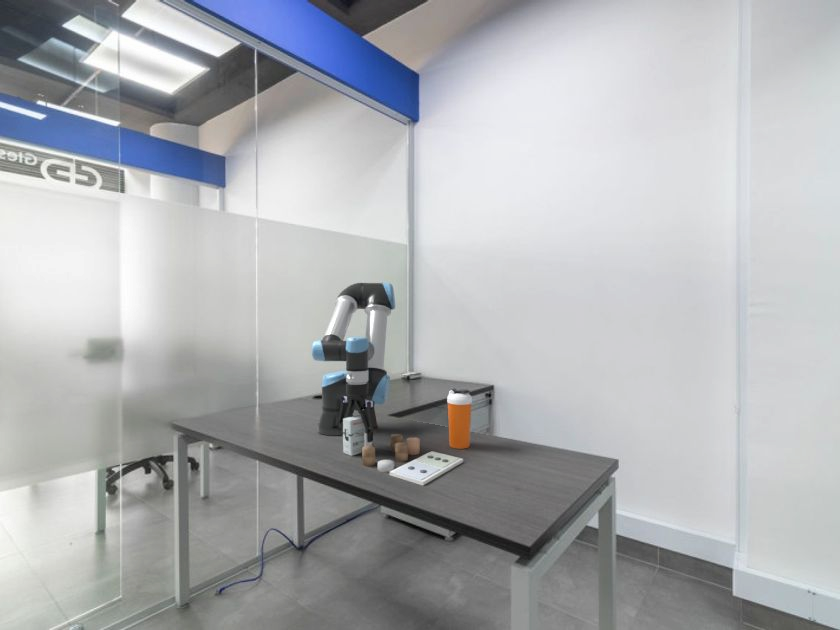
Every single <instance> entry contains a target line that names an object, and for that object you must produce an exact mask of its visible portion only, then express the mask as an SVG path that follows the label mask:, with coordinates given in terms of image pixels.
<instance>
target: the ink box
mask: <svg viewBox="0 0 840 630" xmlns="http://www.w3.org/2000/svg"><path fill="white" fill-rule="evenodd" d="M369 429H370V428H369ZM365 432H366V429H365V426H364V423H363V421H362V418H361V415H360V414H357V415H353V416H352V417H348V418H344V419H343V435H342V448H343V450H342V451H343V452H342V453H343V454H346V455H348V456H350V457H353V456H357V455H359V454H362V448H363V447H364V433H365Z"/></svg>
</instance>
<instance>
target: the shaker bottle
mask: <svg viewBox="0 0 840 630" xmlns="http://www.w3.org/2000/svg"><path fill="white" fill-rule="evenodd" d="M470 392H471V389H465V388H464V389H461V388H460V389H457V388H452V389H449V392H448V395H447V398H446V402H447V411H448V412H447V415H448V418H447V419H448V441H449V447H451V448H452V449H457V450H462V449H464V450H465V449H467V448H469V447H470V438H471V421H472V420H471V419H472V417H471V416H472V404H473V396H472V395H471V394H470Z"/></svg>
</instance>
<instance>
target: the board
mask: <svg viewBox="0 0 840 630" xmlns="http://www.w3.org/2000/svg"><path fill="white" fill-rule="evenodd" d="M462 463H464V458H461V457H457V456H453V455H450V454H445V453H441V452H436V451H432V450H431V451H430V452H427V453H425V454H423V455H421V456H419V457H417V458H415V459H413V460H411V461H409V462H407V463H405V464H402V465H401V466H398V467H396V468H394V470H392V471H390V472H389V476H391V477H394V478H397V479H401V480H404V481H406V482H410V483H413V484H417V485H420V486H425V485H426V484H428V483H430V482H432V481H433V480H435V479H436V478H438V477H440V476H442V475H443V474H445V473H446V472H449V471H451V470H452V469H454V468H455V467H457V466H458V465H460V464H462Z"/></svg>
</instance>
